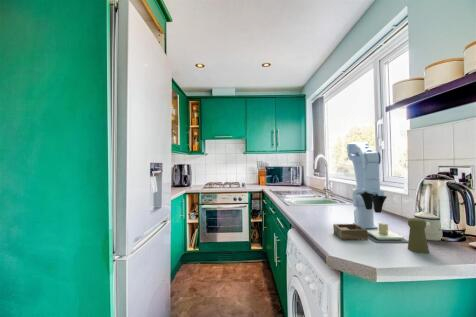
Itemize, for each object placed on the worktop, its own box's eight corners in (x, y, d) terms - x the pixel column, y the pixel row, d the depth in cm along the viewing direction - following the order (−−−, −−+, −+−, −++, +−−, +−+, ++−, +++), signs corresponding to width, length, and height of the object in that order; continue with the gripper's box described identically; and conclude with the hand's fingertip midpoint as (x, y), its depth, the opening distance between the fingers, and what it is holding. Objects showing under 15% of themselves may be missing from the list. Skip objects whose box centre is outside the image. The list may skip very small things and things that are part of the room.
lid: (365, 233, 102) (364, 221, 102) (389, 233, 101) (388, 220, 102) (377, 240, 92) (376, 227, 92) (404, 240, 91) (403, 226, 92)
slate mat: (360, 233, 104) (360, 232, 104) (391, 233, 103) (390, 232, 103) (376, 242, 91) (376, 242, 91) (411, 242, 90) (411, 242, 90)
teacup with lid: (415, 233, 102) (413, 206, 103) (442, 236, 97) (441, 208, 97) (414, 240, 93) (413, 210, 93) (445, 244, 87) (443, 213, 88)
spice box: (333, 233, 105) (333, 224, 105) (356, 233, 104) (356, 223, 104) (342, 240, 95) (341, 230, 95) (367, 240, 94) (367, 230, 94)
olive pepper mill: (433, 253, 79) (431, 220, 79) (413, 252, 80) (411, 220, 81) (422, 247, 85) (421, 216, 85) (404, 246, 86) (402, 216, 86)
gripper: (355, 178, 109) (356, 208, 108) (370, 180, 94) (372, 214, 94) (370, 178, 109) (372, 208, 108) (388, 179, 94) (390, 213, 93)
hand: (373, 210), depth 101 cm, fingers open, 7 cm apart
